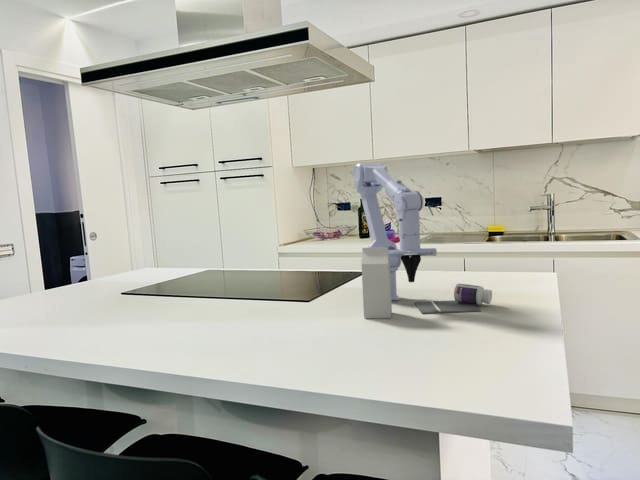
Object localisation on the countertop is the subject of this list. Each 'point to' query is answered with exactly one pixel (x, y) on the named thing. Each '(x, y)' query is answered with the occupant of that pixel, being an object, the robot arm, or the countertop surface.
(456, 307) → the mat
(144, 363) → the countertop surface
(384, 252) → the milk carton
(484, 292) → the pill bottle
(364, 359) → the countertop surface
